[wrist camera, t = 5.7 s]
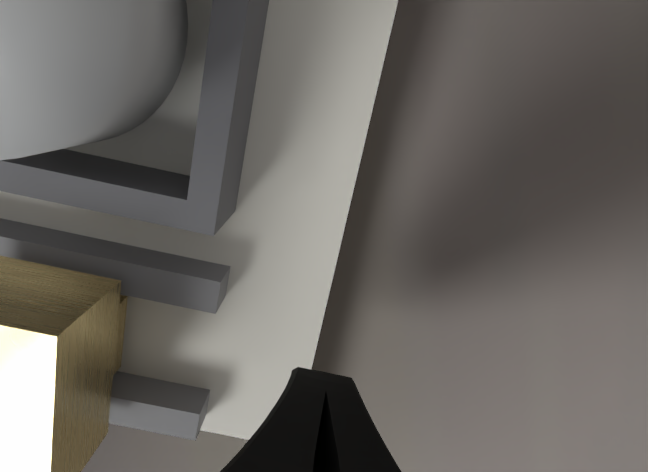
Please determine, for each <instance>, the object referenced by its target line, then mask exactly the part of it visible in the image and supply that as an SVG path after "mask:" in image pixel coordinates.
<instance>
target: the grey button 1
mask: <svg viewBox="0 0 648 472" xmlns="http://www.w3.org/2000/svg"><path fill="white" fill-rule="evenodd" d="M187 37H188V14H187V3H186V0H0V160H7V159H15V158H22V157H26V156H31V155H36V154H41V153H45V152H50V151H55V150H60V149H65V148H69V147H74V146H79V145H84V144H88V143H93V142H98V141H103V140H106V139H110V138H114V137H117V136H119V135H122V134H124V133H126V132H129V131H131V130H132V129H134V128H135V127H137V126H139V125H140V124H142V123H143V122H144V121H146V120H147V119H148V118H149V117H150V116H152V115H153V114H154V113H155V112H156V110H157V109H158V108H159V107H160V106H161V105H162V104H163V103H164V101H165V100H166V98H167V97H168V95H169V93H170V92H171V90H172V89H173V87H174V85H175V82H176V80H177V78H178V76H179V74H180V70H181V67H182V64H183V61H184V57H185V52H186V46H187Z"/></svg>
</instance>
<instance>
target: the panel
mask: <svg viewBox="0 0 648 472" xmlns="http://www.w3.org/2000/svg"><path fill="white" fill-rule="evenodd" d="M186 3H187V14H188V37H187V46H186V52H185V57H184V61H183V64H182V67H181V70H180V74H179V76H178V78H177V80H176V82H175V85H174V87H173V89H172V90H171V92H170V93H169V95H168V97H167V98H166V100H165V101H164V103H163V104H162V105H161V106H160V107H159V108H158V109H157V110H156V112H155V113H154V114H153V115H152V116H150V117H149V118H148V119H147V120H146V121H144V122H143V123H142V124H140V125H139V126H137V127H135V128H134V129H132V130H131V131H129V132H126V133H124V134H122V135H119V136H117V137H114V138H110V139H106V140H103V141H98V142H93V143H88V144H84V145H79V146H74V147H69V148H65V149H60V150H55V151H50V152H45V153H41V154H36V155H31V156H26V157H22V158H15V159H7V160H0V256H5V257H10V258H15V259H20V260H24V261H29V262H34V263H39V264H44V265H49V266H53V267H58V268H63V269H68V270H73V271H78V272H82V273H87V274H92V275H97V276H102V277H107V278H111V279H116V280H121V291H120V295H124V296H128V298H127V309H126V319H125V330H124V340H123V350H122V361H121V367H120V368H119V369H118V371H117V372H116V373H115V374H114V376H113V380H112V391H111V402H110V413H109V424H114V425H119V426H124V427H129V428H134V429H139V430H144V431H149V432H154V433H159V434H165V435H170V436H175V437H180V438H185V439H190V440H195V441H196V438H197V436H198V433H199V431H200V430H202V431H207V432H212V433H217V434H222V435H227V436H232V437H237V438H242V439H247V440H249V439H250V438H251V437H252V436H253V434H254V433H255V432H256V431H257V429H258V428H259V427H260V426H261V424H262V423H263V422H264V420H265V419H266V417H267V416H268V415H269V413H270V412H271V410H272V409H273V407H274V406H275V404H276V403H277V401H278V400H279V398H280V396H281V395H282V393H283V391H284V389H285V387H286V385H287V383H288V381H289V379H290V376H291V372H292V370H293V369H295V368H297V367H301V368H306V369H312V365H313V360H314V356H315V352H316V348H317V343H318V339H319V335H320V331H321V326H322V322H323V318H324V314H325V310H326V305H327V301H328V297H329V293H330V288H331V284H332V280H333V276H334V271H335V267H336V263H337V259H338V254H339V250H340V246H341V242H342V237H343V233H344V229H345V225H346V220H347V216H348V212H349V208H350V203H351V199H352V195H353V191H354V186H355V182H356V178H357V174H358V169H359V165H360V161H361V157H362V153H363V148H364V144H365V140H366V136H367V131H368V127H369V123H370V119H371V114H372V110H373V106H374V102H375V97H376V93H377V89H378V85H379V80H380V76H381V72H382V68H383V63H384V59H385V55H386V51H387V46H388V42H389V38H390V34H391V29H392V25H393V21H394V17H395V13H396V8H397V4H398V0H186Z"/></svg>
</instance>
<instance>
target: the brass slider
mask: <svg viewBox="0 0 648 472" xmlns="http://www.w3.org/2000/svg"><path fill="white" fill-rule="evenodd" d="M120 291H121V280H116V279H111V278H107V277H102V276H97V275H92V274H87V273H82V272H78V271H73V270H68V269H63V268H58V267H53V266H49V265H44V264H39V263H34V262H29V261H24V260H20V259H15V258H10V257H5V256H0V472H81V471H82V470H83V468H84V467H85V465H86V464H87V462H88V461H89V459H90V458H91V456H92V455H93V453H94V452H95V451H96V449H97V448H98V446H99V445H100V443H101V442H102V440H103V439H104V437H105V436H106V434H107V433H108V424H109V413H110V402H111V391H112V380H113V376H114V374H115V373H116V372H117V371H118V369H119V368H120V367H121V361H122V350H123V340H124V330H125V319H126V309H127V298H128V296H124V295H120Z"/></svg>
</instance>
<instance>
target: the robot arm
mask: <svg viewBox="0 0 648 472" xmlns="http://www.w3.org/2000/svg"><path fill="white" fill-rule="evenodd" d="M220 472H401V470H400V469H399V467H398V466H397V464H396V462H395V461H394V459H393V457H392V456H391V454H390V452H389V450H388V449H387V447H386V445H385V443H384V441H383V440H382V438H381V436H380V434H379V432H378V431H377V429H376V427H375V425H374V423H373V421H372V419H371V417H370V415H369V413H368V411H367V409H366V407H365V405H364V403H363V401H362V398H361V396H360V394H359V392H358V390H357V387H356V385H355V383H354V381H353V380H352V378H350V377H345V376H340V375H335V374H330V373H325V372H321V371H316V370H311V369H306V368H301V367H297V368H295V369H293V370H292V372H291V376H290V379H289V381H288V383H287V385H286V387H285V389H284V391H283V393H282V395H281V396H280V398H279V400H278V401H277V403H276V404H275V406H274V407H273V409H272V410H271V412H270V413H269V415H268V416H267V417H266V419H265V420H264V422H263V423H262V424H261V426H260V427H259V428H258V429H257V431H256V432H255V433H254V434H253V436H252V437H251V438H250V439H249V440H248V442H247V443H246V444H245V445H244V447H243V448H242V449H241V450H240V451H239V452H238V453H237V455H236V456H235V457H234V458H233V459H232V460H231V461H230V462H229V463H228V464H227V465H226V466H225V467H224V468H223V469H222V470H221V471H220Z"/></svg>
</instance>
